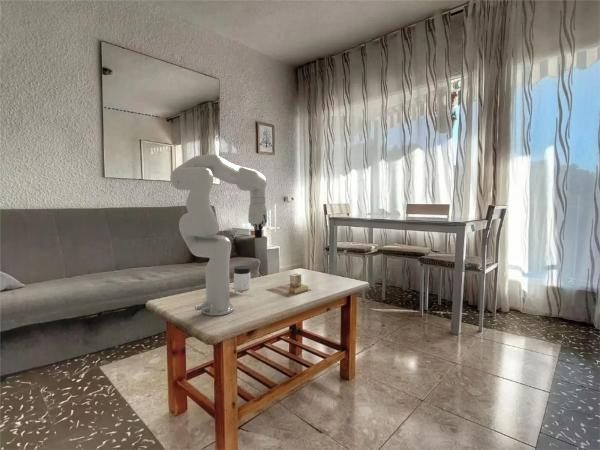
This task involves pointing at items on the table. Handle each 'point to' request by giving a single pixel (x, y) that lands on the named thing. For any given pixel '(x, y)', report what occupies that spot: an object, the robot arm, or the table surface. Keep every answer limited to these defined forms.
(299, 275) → the tan block
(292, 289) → the clip
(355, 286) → the table surface
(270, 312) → the table surface
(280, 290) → the board
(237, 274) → the jar
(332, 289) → the table surface
